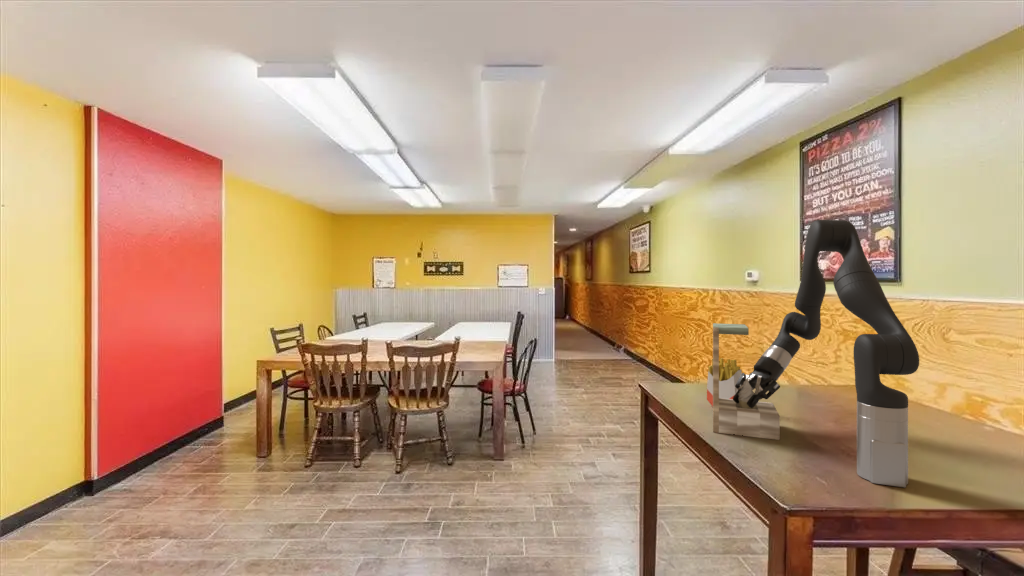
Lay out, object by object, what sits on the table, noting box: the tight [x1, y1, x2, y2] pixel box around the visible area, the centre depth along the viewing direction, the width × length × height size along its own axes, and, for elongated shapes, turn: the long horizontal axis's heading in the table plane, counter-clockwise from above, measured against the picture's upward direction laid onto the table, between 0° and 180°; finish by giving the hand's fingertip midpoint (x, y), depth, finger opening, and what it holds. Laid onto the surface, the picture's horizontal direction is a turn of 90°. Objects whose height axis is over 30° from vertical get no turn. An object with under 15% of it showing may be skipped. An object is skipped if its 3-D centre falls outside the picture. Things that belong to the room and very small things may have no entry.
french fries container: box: [706, 357, 743, 407], centre depth 166 cm, size 5×11×18 cm, turn 34°
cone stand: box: [712, 323, 781, 441], centre depth 143 cm, size 16×18×32 cm
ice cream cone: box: [738, 379, 755, 409], centre depth 142 cm, size 5×5×15 cm
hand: (742, 403), depth 142 cm, fingers closed on ice cream cone, 5 cm apart
